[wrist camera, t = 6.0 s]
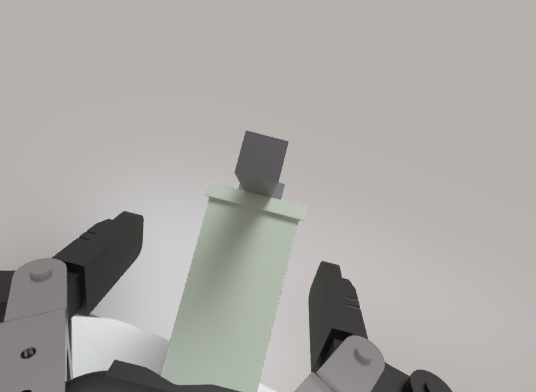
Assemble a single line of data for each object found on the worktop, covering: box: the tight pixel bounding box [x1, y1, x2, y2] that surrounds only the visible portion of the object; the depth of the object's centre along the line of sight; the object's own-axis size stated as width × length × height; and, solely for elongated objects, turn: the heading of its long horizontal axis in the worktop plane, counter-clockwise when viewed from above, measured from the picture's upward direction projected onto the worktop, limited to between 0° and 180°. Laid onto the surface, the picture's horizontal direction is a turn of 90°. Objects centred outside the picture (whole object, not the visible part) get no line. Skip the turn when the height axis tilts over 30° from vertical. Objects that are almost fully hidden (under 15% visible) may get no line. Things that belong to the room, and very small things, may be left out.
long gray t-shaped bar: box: [235, 131, 288, 200], centre depth 32 cm, size 26×6×3 cm, turn 2°
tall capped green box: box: [160, 182, 307, 392], centre depth 40 cm, size 21×11×32 cm, turn 2°
